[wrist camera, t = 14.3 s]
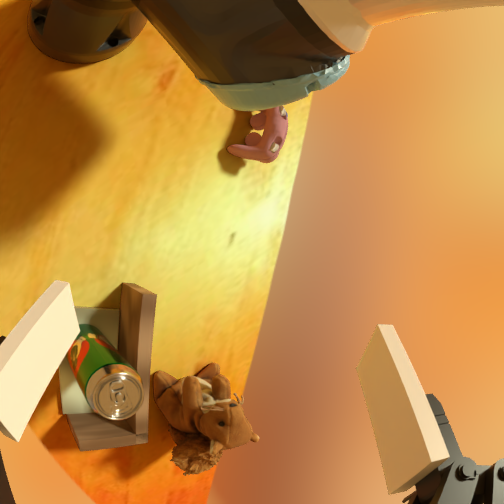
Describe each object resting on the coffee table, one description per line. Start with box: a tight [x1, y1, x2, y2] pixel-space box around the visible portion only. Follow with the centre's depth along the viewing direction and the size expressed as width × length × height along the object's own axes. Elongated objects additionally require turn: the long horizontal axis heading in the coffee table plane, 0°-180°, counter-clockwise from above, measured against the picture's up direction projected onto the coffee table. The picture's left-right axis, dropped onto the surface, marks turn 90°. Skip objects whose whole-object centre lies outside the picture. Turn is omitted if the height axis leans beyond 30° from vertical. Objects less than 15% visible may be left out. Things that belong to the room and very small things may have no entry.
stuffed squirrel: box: [153, 363, 259, 476], centre depth 33 cm, size 10×14×13 cm
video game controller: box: [227, 106, 288, 163], centre depth 40 cm, size 10×5×7 cm, turn 164°
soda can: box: [65, 324, 144, 420], centre depth 24 cm, size 5×5×12 cm
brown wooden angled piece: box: [59, 283, 157, 451], centre depth 28 cm, size 18×9×6 cm, turn 169°
